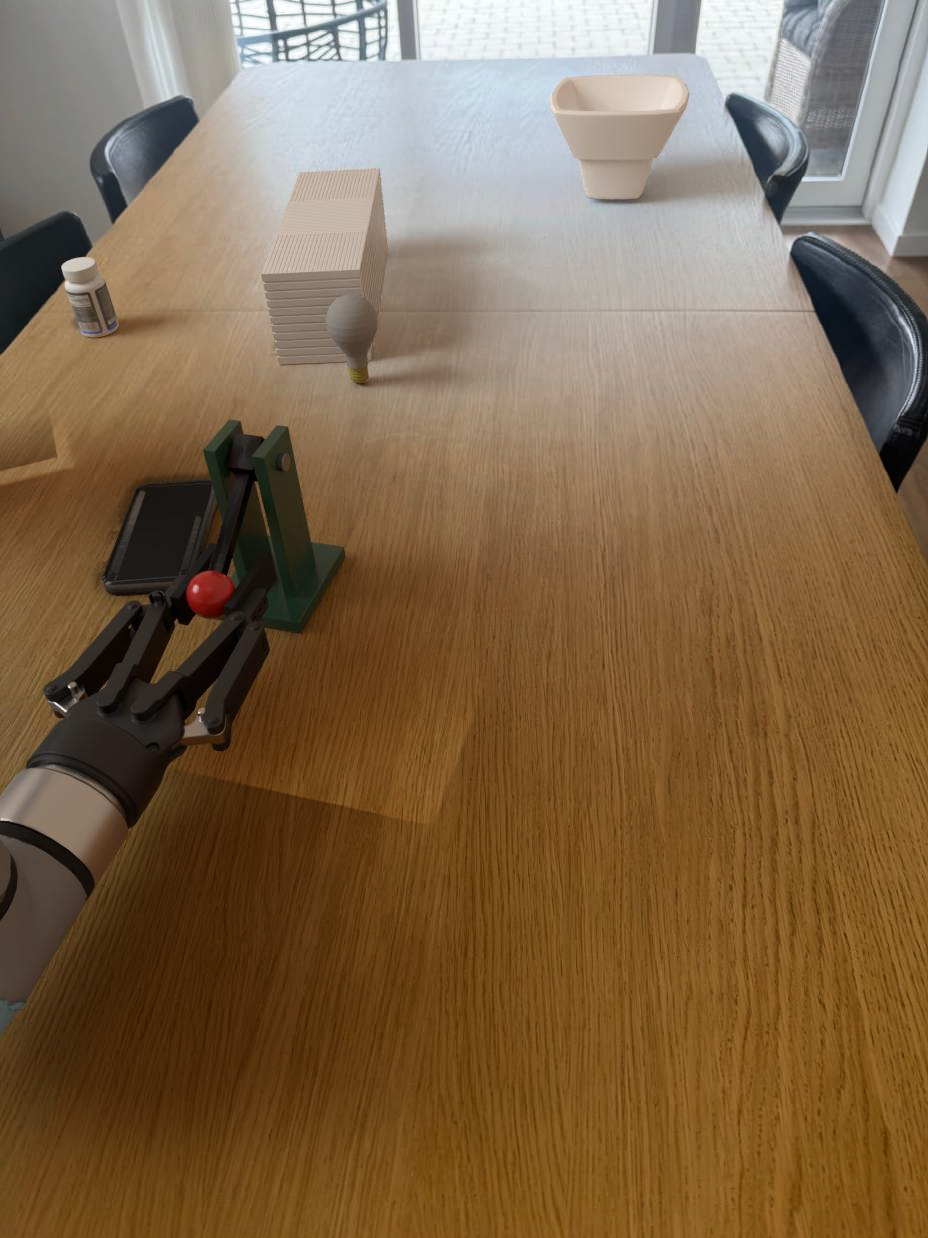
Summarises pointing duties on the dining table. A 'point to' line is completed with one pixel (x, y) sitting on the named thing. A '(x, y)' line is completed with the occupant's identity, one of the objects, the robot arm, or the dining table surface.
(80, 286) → the pill bottle
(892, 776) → the dining table surface
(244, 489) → the switch lever
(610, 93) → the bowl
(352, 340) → the light bulb
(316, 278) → the beige tall block
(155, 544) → the phone
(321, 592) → the switch bracket
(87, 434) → the dining table surface
